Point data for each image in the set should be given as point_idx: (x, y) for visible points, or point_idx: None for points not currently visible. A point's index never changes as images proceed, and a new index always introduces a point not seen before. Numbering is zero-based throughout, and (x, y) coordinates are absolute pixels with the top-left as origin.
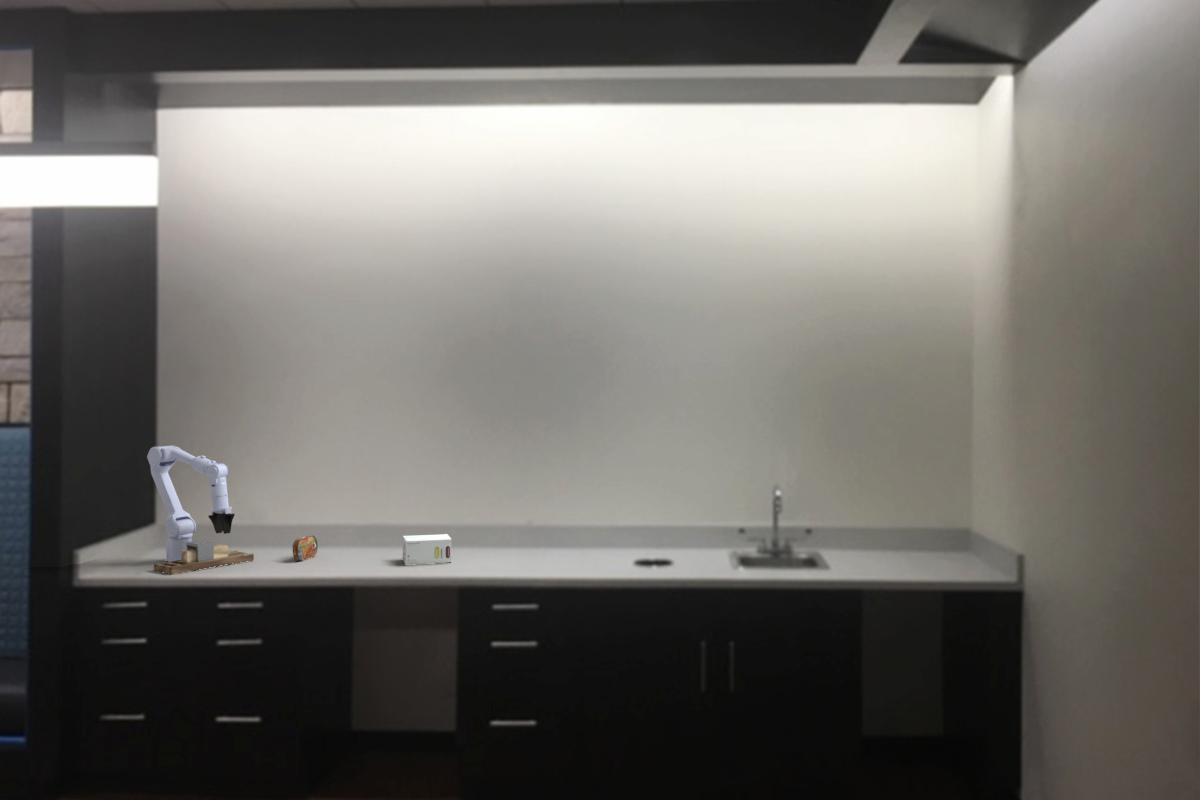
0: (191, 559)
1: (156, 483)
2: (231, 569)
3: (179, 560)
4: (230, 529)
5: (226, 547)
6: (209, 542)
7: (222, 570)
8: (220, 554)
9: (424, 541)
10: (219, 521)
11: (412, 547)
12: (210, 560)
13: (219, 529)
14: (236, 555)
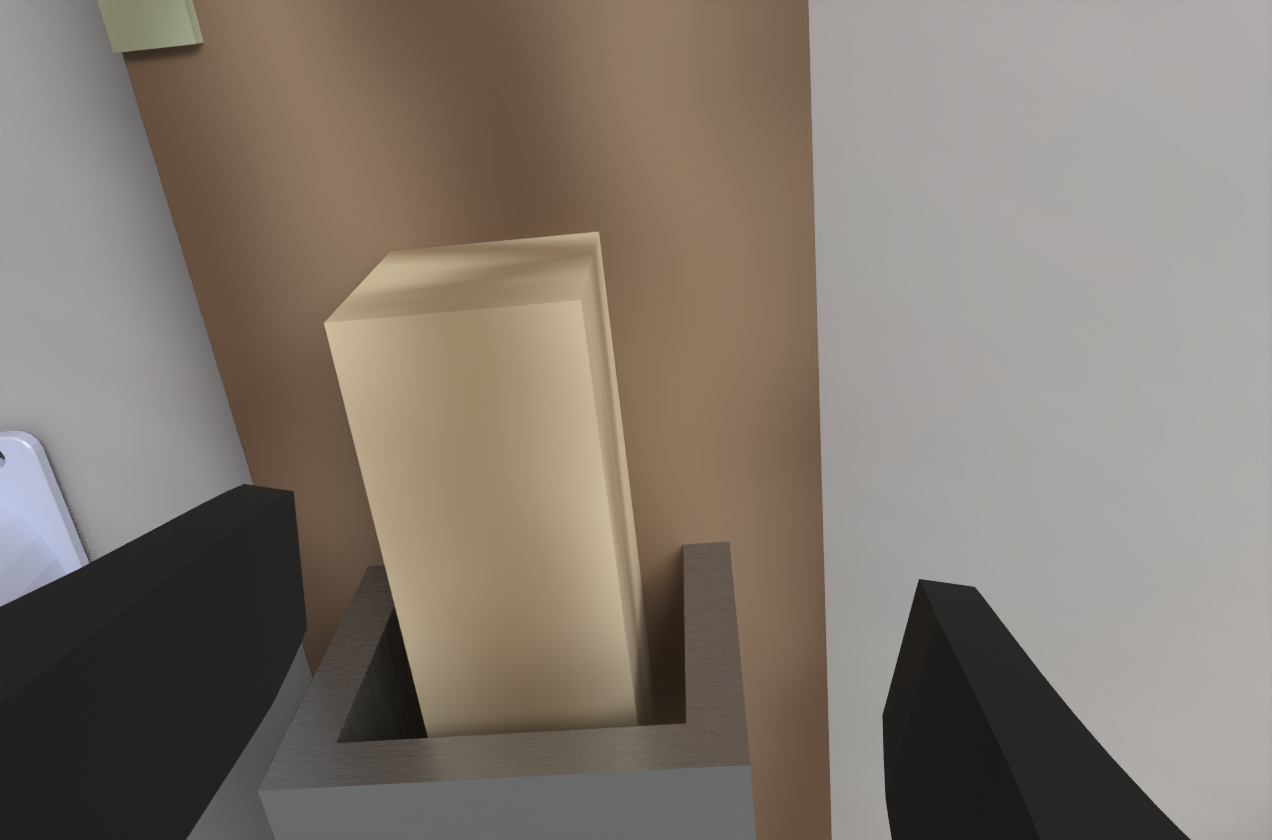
0: None
1: None
2: (1162, 422)
3: None
4: (1022, 655)
5: (589, 324)
6: (755, 837)
7: (1106, 534)
8: (613, 405)
9: None
10: (45, 824)
11: None
12: (752, 598)
13: (244, 623)
14: (630, 66)
